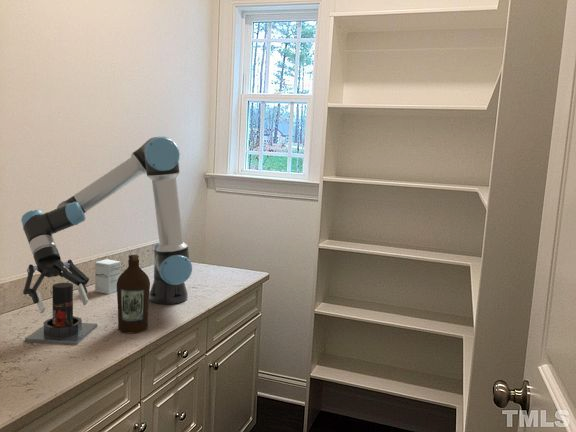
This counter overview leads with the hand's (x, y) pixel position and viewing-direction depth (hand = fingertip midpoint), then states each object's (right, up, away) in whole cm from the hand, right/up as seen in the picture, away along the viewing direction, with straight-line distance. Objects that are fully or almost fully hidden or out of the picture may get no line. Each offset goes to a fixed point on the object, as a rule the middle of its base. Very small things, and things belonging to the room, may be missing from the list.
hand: (65, 306), depth 160 cm
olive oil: (+18, -9, +10) cm, 23 cm away
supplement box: (-5, -3, +51) cm, 52 cm away
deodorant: (-2, -8, +3) cm, 9 cm away
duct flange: (-2, -9, +3) cm, 10 cm away
